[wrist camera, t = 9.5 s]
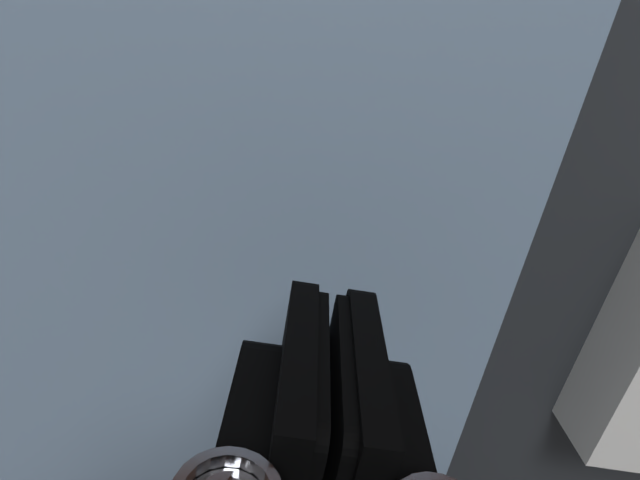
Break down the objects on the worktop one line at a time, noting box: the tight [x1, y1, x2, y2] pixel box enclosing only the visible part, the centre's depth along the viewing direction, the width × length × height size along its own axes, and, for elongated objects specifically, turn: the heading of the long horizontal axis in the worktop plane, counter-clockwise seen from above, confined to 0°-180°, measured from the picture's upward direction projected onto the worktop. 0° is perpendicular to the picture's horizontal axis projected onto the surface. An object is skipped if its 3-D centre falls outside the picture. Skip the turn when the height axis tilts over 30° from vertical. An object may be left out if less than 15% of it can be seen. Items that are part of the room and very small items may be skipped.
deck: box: [0, 0, 621, 480], centre depth 14 cm, size 14×20×4 cm
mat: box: [446, 0, 640, 480], centre depth 17 cm, size 11×20×1 cm, turn 170°
